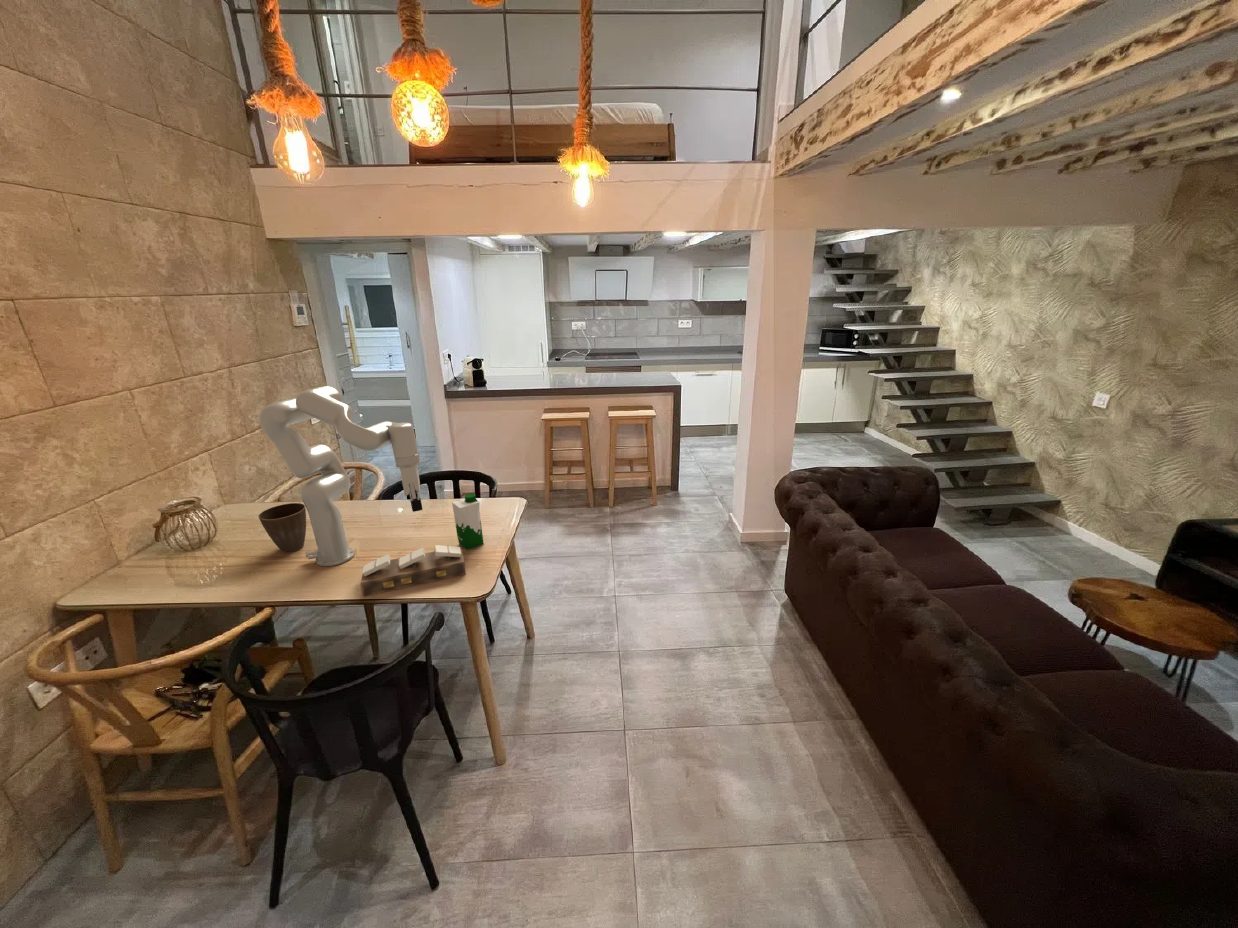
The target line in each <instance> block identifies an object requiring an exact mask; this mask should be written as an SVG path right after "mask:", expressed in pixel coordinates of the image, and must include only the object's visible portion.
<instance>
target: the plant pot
mask: <svg viewBox="0 0 1238 928" xmlns="http://www.w3.org/2000/svg"><path fill="white" fill-rule="evenodd" d="M306 512H307V508H306V506H305V504H304V503H300V502H292V503H284V504H278V505H276V506H272V507H270V508H267V509H265V510H263V511H261V512H260V513H259V514H258V517H257V518H258V519H259V520H260V523H261V525H262V526H263V529H264V530H265V532H266V534H267V535H268V536H269V537H270V539H271V540H272V542H273V543H274V544H275V546H277V548H278V549H279V550H280V551H281V552H282V553H284V554H285V553H287V554H288V553H293V552H296V551H299V550H301V549H302V548H303V547H304V545H305V541H306V535H307V513H306Z"/></svg>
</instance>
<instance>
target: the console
mask: <svg viewBox="0 0 1238 928" xmlns="http://www.w3.org/2000/svg"><path fill="white" fill-rule="evenodd" d="M459 547H460V550H461V557H450V556H436V555H435V550H434V551H430V552H429V551H428V552H425V558H423V559H421V560H419V561H417V562H415V563H413V564H411V565H409V566H407V567H405V568H403V569H401V568H400V567H399V559H400V558H401V557H399V558H394V559H390V565H388V566H385V567H383V568H381V569H379V570H377V571H375V572H373V573H371V574H369V575H367V576H364V575H363V572H362V575H361V580H360V587H361V590H362V595H363V597H366V596H372V595H377V594H380V593H386V592H390V591H394V590H395V591H396V590H400V589H404V588H408V587H409V588H410V587H414V586H417V585H418V586H419V585H423V584H428V583H432V582H437V581H441V580H447V579H450V578H455V577H461V576H465V575H466V574H467V573H466V572H467V571H466V566H465V565H466V564H465V557H464V554H463V549H462V548H463V547H462V546H461V545H460V546H459Z"/></svg>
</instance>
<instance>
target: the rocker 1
mask: <svg viewBox="0 0 1238 928" xmlns="http://www.w3.org/2000/svg"><path fill="white" fill-rule="evenodd" d="M390 560H391V556H390V554H389V553H388V554H385V555H383V556H381V557H379V558H377V559H376V558H375V560H373V561H371V562H369V563H366V564H364V565H363V569H362V573H363V575H364V576H367V575H369V574H371V573H373V572H375V571H377V570H379V569H381V568H383V567H385V566H388V565H390Z"/></svg>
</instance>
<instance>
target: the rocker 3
mask: <svg viewBox="0 0 1238 928" xmlns="http://www.w3.org/2000/svg"><path fill="white" fill-rule="evenodd" d="M434 551H435V555H436V556H450V557H461V550H460V546H452V545H451V546H450V545H449V544H448V545H442V544H441V545H438V544H435V545H434Z"/></svg>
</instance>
